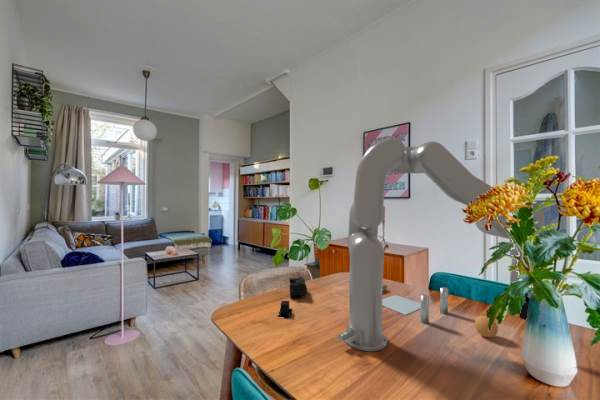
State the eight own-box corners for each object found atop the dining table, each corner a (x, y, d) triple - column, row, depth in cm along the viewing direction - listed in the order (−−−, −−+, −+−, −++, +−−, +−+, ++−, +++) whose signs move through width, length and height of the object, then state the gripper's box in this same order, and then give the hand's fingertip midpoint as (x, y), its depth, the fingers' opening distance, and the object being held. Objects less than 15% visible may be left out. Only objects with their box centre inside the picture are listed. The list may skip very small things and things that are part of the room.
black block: (293, 323, 93) (293, 309, 93) (272, 322, 94) (272, 309, 94) (295, 308, 106) (295, 296, 106) (277, 307, 106) (277, 296, 106)
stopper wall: (359, 299, 113) (359, 293, 113) (356, 297, 115) (356, 291, 115) (386, 290, 124) (386, 285, 124) (383, 289, 125) (383, 283, 125)
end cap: (307, 299, 114) (307, 283, 113) (290, 299, 113) (290, 283, 113) (305, 290, 123) (305, 276, 123) (289, 291, 123) (289, 276, 123)
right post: (445, 314, 99) (446, 290, 98) (438, 312, 101) (438, 288, 101) (449, 312, 100) (449, 288, 100) (442, 310, 102) (442, 286, 102)
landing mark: (405, 315, 98) (405, 314, 98) (374, 302, 110) (374, 302, 110) (426, 306, 106) (426, 305, 106) (395, 295, 118) (395, 294, 118)
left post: (426, 324, 91) (426, 297, 91) (419, 321, 93) (419, 295, 93) (430, 322, 93) (430, 296, 92) (423, 319, 95) (423, 294, 94)
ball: (493, 343, 79) (493, 323, 79) (470, 334, 84) (471, 315, 84) (501, 337, 83) (501, 317, 83) (479, 329, 88) (479, 310, 88)
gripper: (519, 248, 83) (520, 308, 83) (500, 255, 74) (501, 322, 74) (552, 252, 77) (552, 316, 77) (536, 260, 68) (536, 333, 68)
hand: (527, 319), depth 76 cm, fingers closed
